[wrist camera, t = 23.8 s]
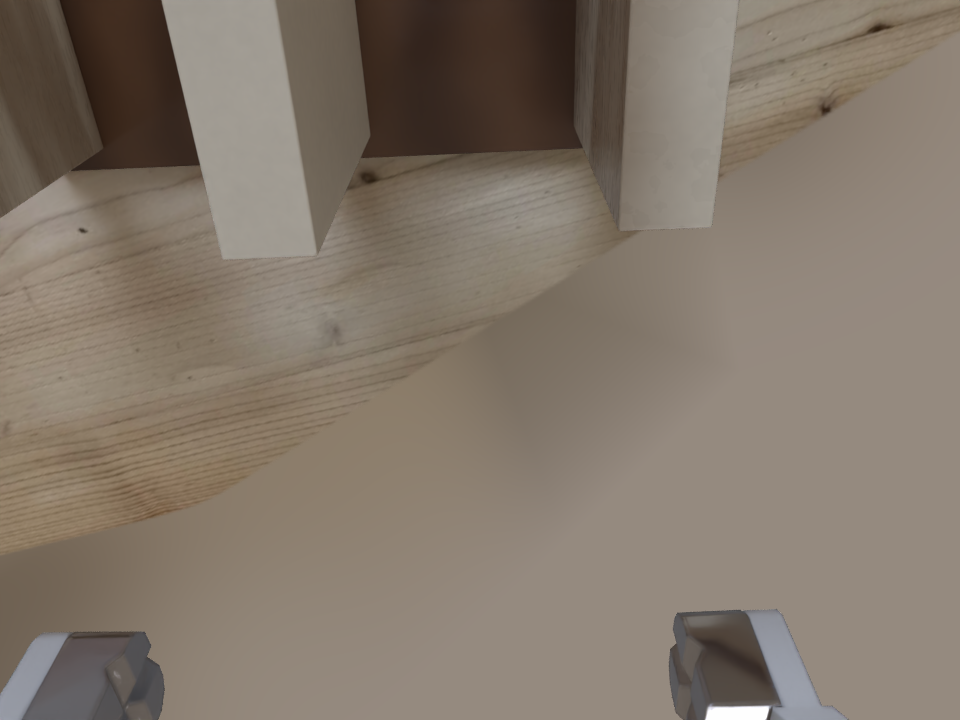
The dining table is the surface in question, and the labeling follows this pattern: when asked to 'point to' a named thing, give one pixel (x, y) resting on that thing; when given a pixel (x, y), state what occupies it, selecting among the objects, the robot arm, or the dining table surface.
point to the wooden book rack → (403, 91)
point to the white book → (272, 116)
